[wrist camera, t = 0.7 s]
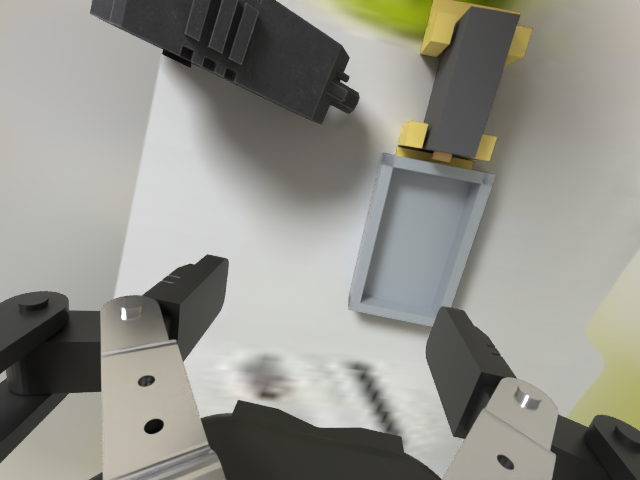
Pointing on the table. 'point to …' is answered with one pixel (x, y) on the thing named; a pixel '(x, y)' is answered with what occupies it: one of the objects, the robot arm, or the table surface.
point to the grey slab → (467, 82)
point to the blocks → (434, 43)
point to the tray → (417, 238)
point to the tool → (244, 47)
